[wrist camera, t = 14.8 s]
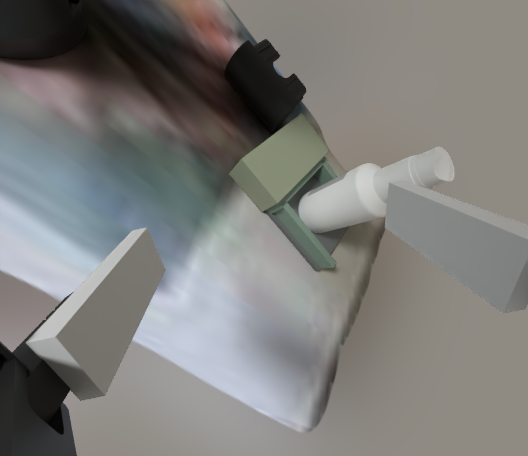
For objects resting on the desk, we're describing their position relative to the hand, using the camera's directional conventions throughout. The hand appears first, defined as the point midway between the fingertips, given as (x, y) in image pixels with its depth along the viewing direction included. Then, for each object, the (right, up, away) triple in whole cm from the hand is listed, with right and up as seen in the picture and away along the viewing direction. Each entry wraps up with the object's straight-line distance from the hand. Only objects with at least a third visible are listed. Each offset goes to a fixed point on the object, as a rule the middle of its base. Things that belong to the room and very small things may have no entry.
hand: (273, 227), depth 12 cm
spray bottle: (+7, +2, +24) cm, 25 cm away
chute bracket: (+5, +5, +24) cm, 25 cm away
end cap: (-2, +19, +23) cm, 31 cm away
